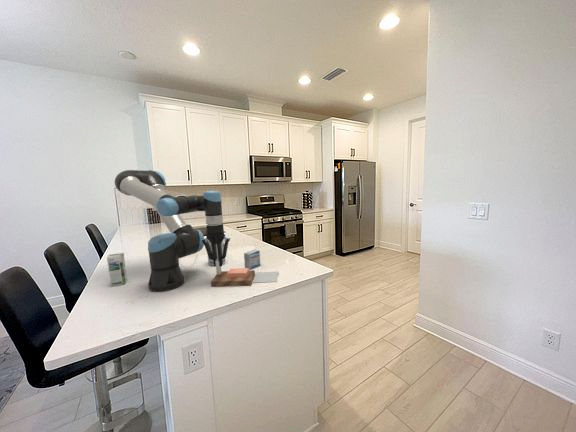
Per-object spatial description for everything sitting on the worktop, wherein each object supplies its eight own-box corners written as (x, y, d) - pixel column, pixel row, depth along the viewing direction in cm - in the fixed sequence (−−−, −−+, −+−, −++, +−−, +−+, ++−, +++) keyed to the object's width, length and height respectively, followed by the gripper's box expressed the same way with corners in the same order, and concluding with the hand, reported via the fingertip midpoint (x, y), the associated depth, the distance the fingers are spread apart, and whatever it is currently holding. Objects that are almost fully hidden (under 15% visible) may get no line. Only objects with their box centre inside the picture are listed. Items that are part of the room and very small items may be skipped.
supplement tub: (228, 263, 136) (226, 238, 134) (213, 267, 130) (211, 242, 128) (220, 259, 143) (218, 236, 141) (205, 263, 137) (203, 239, 134)
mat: (253, 282, 108) (253, 282, 108) (256, 272, 120) (256, 272, 120) (276, 282, 108) (276, 281, 108) (278, 272, 120) (278, 271, 120)
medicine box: (250, 269, 125) (249, 254, 123) (244, 268, 127) (243, 252, 126) (260, 265, 131) (259, 250, 130) (255, 263, 134) (254, 249, 132)
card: (227, 277, 109) (227, 273, 109) (230, 272, 115) (230, 268, 115) (246, 277, 109) (246, 272, 109) (248, 272, 115) (248, 268, 115)
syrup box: (110, 287, 110) (106, 257, 107) (113, 282, 115) (109, 253, 113) (125, 284, 112) (121, 255, 110) (127, 279, 117) (123, 251, 115)
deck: (211, 286, 106) (210, 281, 105) (219, 276, 118) (218, 271, 117) (250, 285, 105) (250, 280, 105) (254, 275, 117) (254, 270, 117)
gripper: (197, 226, 105) (202, 276, 108) (226, 225, 105) (230, 275, 108) (203, 223, 112) (208, 270, 116) (230, 222, 112) (234, 269, 115)
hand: (219, 272), depth 112 cm, fingers closed
